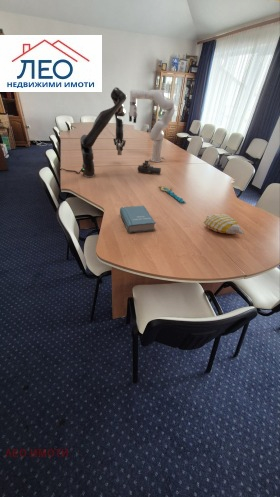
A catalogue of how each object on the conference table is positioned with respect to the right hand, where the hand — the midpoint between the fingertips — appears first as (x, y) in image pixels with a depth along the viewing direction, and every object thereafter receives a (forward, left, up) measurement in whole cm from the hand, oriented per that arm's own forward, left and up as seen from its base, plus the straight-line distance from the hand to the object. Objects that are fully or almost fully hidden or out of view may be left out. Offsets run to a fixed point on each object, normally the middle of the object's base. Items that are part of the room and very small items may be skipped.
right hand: (132, 122), depth 248 cm
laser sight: (+17, +67, -35) cm, 77 cm away
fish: (+33, +176, -35) cm, 182 cm away
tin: (+32, +32, -25) cm, 51 cm away
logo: (+28, +119, -35) cm, 127 cm away
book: (+76, +145, -35) cm, 168 cm away
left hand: (+32, +32, -21) cm, 49 cm away
